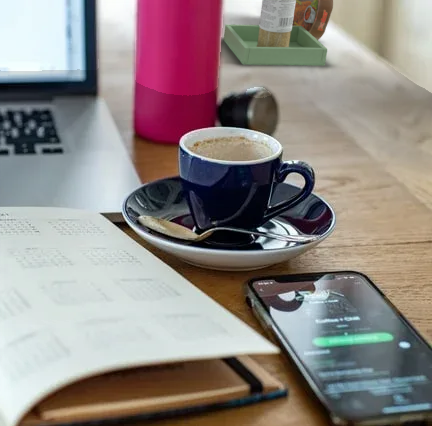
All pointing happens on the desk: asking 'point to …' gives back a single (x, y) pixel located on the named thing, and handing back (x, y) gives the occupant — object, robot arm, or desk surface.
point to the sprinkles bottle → (276, 23)
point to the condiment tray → (293, 55)
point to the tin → (313, 15)
